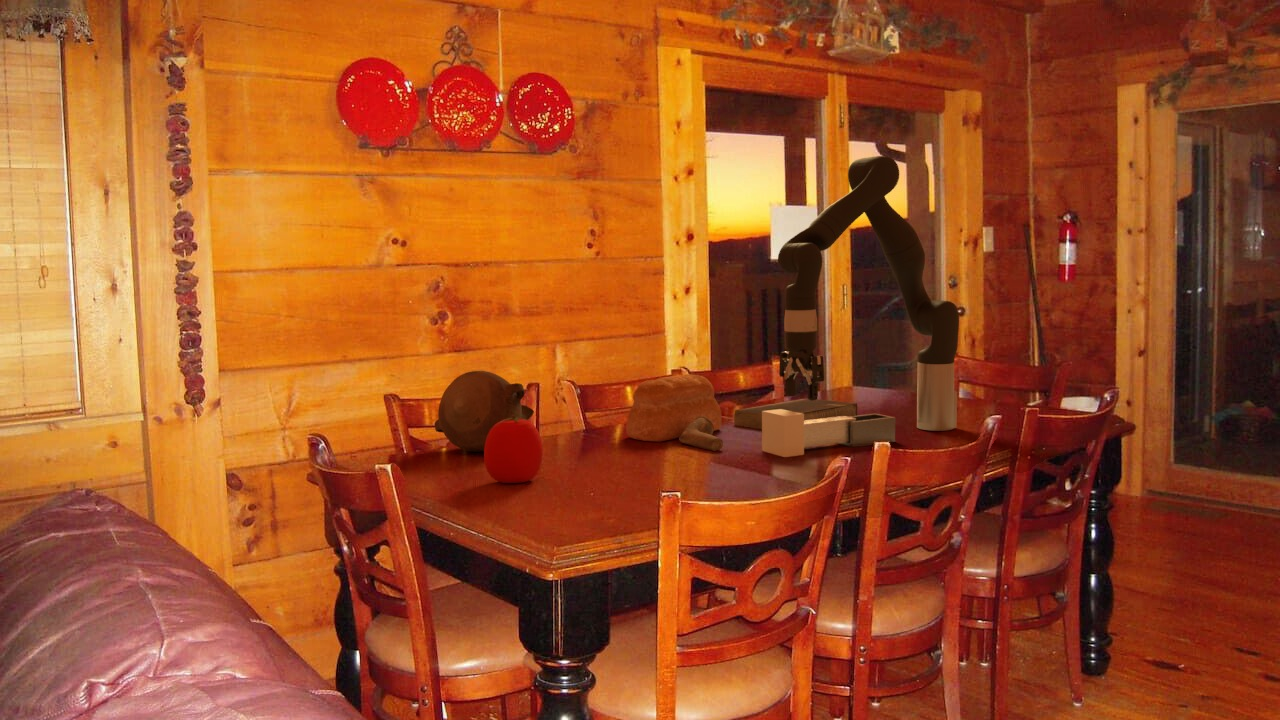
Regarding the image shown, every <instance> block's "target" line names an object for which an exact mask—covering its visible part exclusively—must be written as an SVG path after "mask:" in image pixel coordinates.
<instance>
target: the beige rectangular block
mask: <svg viewBox="0 0 1280 720" xmlns="http://www.w3.org/2000/svg"><path fill="white" fill-rule="evenodd" d="M853 421H856V418H852V417H847V416H839V417H830V418H821V419H812V420H804V449H805V448H812V447H819V446H827V445H834V444H836V445H837V444H838V443H844V442H850V422H853Z"/></svg>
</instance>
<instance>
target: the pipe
mask: <svg viewBox="0 0 1280 720" xmlns="http://www.w3.org/2000/svg"><path fill="white" fill-rule="evenodd" d="M714 432H715V431H714V427H713V424H712V422H711V421H710V420H709V419H708V418H706V417H703V416H700V417H697V418H696V419H695V420H694V421H693V422H692V423H691V424H690V425H689V426H688V427H687V428H686V429H685V430H684V432H683V433H682V435H681V436H680V437H679V438H678V441H679V442H680V443H683V444H686V445H688V446H693V447H695V448H700V449H704V450H708V451H712V452H716V450H718V451H720V450H721V449H722V448H723V446H724V441H723V439H722V438H720V437H717V436H714V435H713V433H714Z"/></svg>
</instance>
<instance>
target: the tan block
mask: <svg viewBox="0 0 1280 720" xmlns="http://www.w3.org/2000/svg"><path fill="white" fill-rule="evenodd" d="M761 451H762V452H764V453H768V454H772V455H775V456H779V457H783V458H789V457H797V456H803V455H805V448H804V414H802V413H797V412H793V411H788V410H783V409H777V410H767V411H762V429H761Z"/></svg>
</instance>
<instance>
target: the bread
mask: <svg viewBox="0 0 1280 720" xmlns="http://www.w3.org/2000/svg"><path fill="white" fill-rule="evenodd" d="M632 399H633V404H632V406H631V407H630V409H629V411H628V412H629V413H628V415H627V419H626V425H625V429H626V430H625V431H626V434H627V436H628V438H631V439H634V440H637V441H638V440H639V441H644V442H658V443H659V442H665V441H671V440H675V439H679V437H680V436H681V435H682V433H683V432H684V430H685V429H686V428H687V427H688V426H689V425H690V424H691V423H692V422H693V421H694V420H695V419H696V418H697V417H700V416H703V417H706V418H708V419H709V420H710V421H711V422H712V424H713V427H714V431H713V432H715V431H718V430H719V429H720V428H721V426H722V411H721V408H720V405H719V403H718V402H717V400H716V398H715V389H714V386H713V384H712V383H711V382H710V381H709V379H708V378H706V377H705V376H703V375H698V374H693V373H692V374H691V373H690V374H684V375H670V376H662V377H659V378H656V379H647V380H645V381H642V382H641V383H639V385H637V387H636V389H635V390H634V392H633V396H632Z"/></svg>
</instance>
